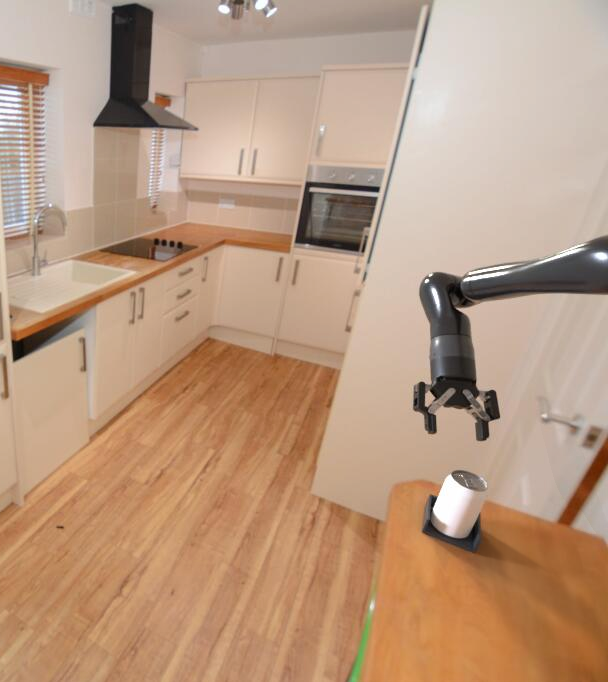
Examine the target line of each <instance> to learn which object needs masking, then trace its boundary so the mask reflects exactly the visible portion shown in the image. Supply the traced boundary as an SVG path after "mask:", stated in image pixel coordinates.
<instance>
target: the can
mask: <svg viewBox="0 0 608 682" xmlns="http://www.w3.org/2000/svg"><path fill="white" fill-rule="evenodd" d="M488 490H489V484H488V482H487V480H485V479H483V478H482V477H481V476H479V475H477V474H476V473H473V472H471V471H468V470H464V469H456V470H453V471H451V473H450V474H449V475H447V476H446V478H445V479H444V482H443V484H442V486H441V489H440V491H439V494H438V496H437V497H438V498H437V501H436V503H435V506H434V508H432V509H433V510H432V513H431V516H430V521H431V523H432V525H433V526H434V527H435V528H436V529H437V530H438V531H439V532H441V533H443V534H444V535H447V536H449V537H452V538H465V537H467V536H468V535H469V534H470V532H471V530H472V528H473V526H474V524H475V521H476V519H477V517H478V515H479V513H480V514H481V511H482V509H483V507H484V504H485V503H486V501H487V499H488V495H489V492H488Z"/></svg>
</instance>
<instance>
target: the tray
mask: <svg viewBox="0 0 608 682" xmlns="http://www.w3.org/2000/svg"><path fill="white" fill-rule="evenodd" d="M437 498H438V496H437V495H434V494H431V493H429V495H428V497H427V499H426V501H425V505H424V507H425V508H423V518H422V524H421V525H422V528H421V533H423V534H425V535H428V536H430V537H433V538H435V539H436V540H437V539H438V540H439V541H443V542H445V543H448V544H451V545H453V546H455V547H457V548H460V549H463V550H465V551H468V552H470V553H473V554H476V552H477V550H478V548H479V546H480V544H481V542H482V520H481V517H482V516H481V515H482V514H481V512H480V513H479V515H478V517H477V519H476V521H475V524H474V526H473V528H472V530H471V532H470V534H469V535H468V536H467V537H465V538H452V537H449V536H447V535H444V534H443V533H441V532H439V531H438V530H437V529H436V528H435V527H434V526H433V525H432V523H431V521H430V516H431V513H432V510H433V508H434V506H435V503H436V501H437Z"/></svg>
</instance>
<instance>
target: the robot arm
mask: <svg viewBox="0 0 608 682" xmlns="http://www.w3.org/2000/svg"><path fill="white" fill-rule="evenodd" d="M553 294H555V295H556V294H562V295H563V294H566V295H589V296H590V295H592V296H593V295H594V296H596V295H597V296H608V234H603V235H600V236H596V237H593V238H591V239H588V240H587V241H585V242H584V241H583V242H582V243H579V244H576V245H573V246H572V247H569V248H566V249H563V250H561V251H558V252H555V253H553V254H549V255H545V256H542V257H538V258H533V259H528V260H517V261H507V262H501V263H496V264H491V265H487V266H482V267H477V268H474V269H471V270H469V271H467V272H466V273H465V274H463V276H461V275H457V274H452V273H448V272H444V271H432V272H430V273H429V274H427V275H426V276H424V278H423V279H422V280H421V282H420V284H419V288H418V296H419V301H420V304H421V307H422V309H423V311H424V314H425V316H426V319H427V321H428V323H429V335H430V336H429V337H430V340H429V341H430V344H429V355H428V359H429V367H430V368H429V370H430V371H429V372H430V381H431V382H430V384H428V383H425V381H423V380H422V381H419V382H418V383H415V384H414V385H413V397H412V410H413V411H414V412H416V413H420V414H422V415H423V422H424V423H423V424H424V425H423V426H424V430H425V431H426V432H427V434H428V435H436V434H437V433H438V427H437V426H438V425H437V414H435V413H436V412H437V411H439V409H440V408H441V407H443V408H445V409H447V408H448V409H450V408H453V409H455V410H464V411H465V412H466V413H467V414H468V415H470V416H471V417H472V418H473V419H474V420H475V421H476V422H474V426H475V440H476V442H486V441H487V439H489V438H490V425H489V423H490V422H492V421H496V420H500V419H501V412H500V407H499V406H500V405H499V400H498V393H497V391H496V390H495V389H490V390H481V389H480V390H479V388H478V386H477V381H478V379H477V378H478V377H477V367H476V365H477V364H476V353H475V348H474V347H475V346H474V343H473V336H472V323H471V322H472V321H471V318H470V317H469V315H467V314H466V313H464V312H463V311H460V309H468V308H473V307H475V306H478V305H479V304H480V305H481V304H483V303H485V302H494V301H495V302H496V301H505V300H510V299H517V298H523V297H528V296H534V295H535V296H536V295H553ZM428 392H430V394H431V395H432V396H433V397H434V399H432V401H430V403H428V405H427V406H426V395H427V394H428ZM477 398H480V401H481V402H483V406H482V404H481V403H480V402H479V401H478V400H477Z"/></svg>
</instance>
